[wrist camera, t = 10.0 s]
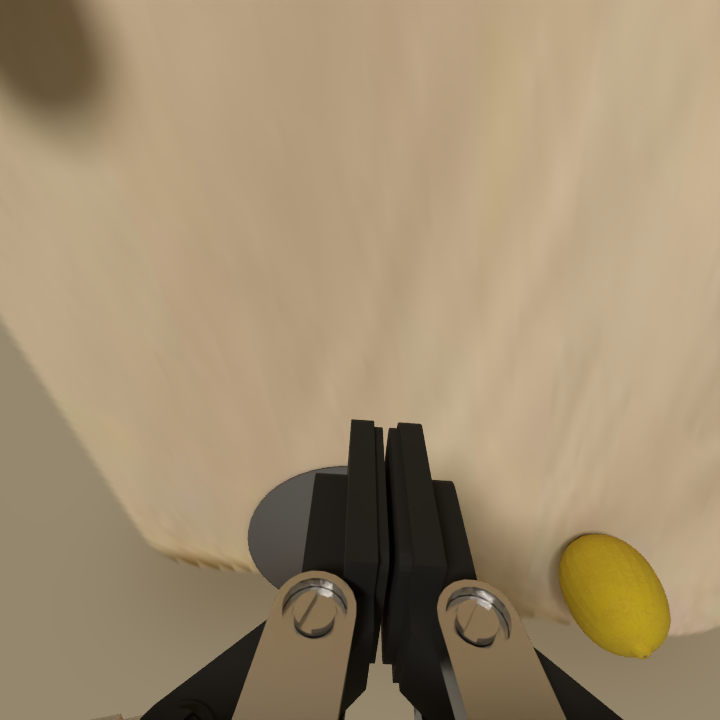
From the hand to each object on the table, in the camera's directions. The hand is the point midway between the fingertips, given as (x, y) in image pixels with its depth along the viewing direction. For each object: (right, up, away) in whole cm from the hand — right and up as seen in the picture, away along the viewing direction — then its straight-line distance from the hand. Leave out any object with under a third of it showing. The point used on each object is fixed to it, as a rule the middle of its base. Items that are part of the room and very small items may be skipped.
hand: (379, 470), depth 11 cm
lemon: (+15, -9, +21) cm, 27 cm away
